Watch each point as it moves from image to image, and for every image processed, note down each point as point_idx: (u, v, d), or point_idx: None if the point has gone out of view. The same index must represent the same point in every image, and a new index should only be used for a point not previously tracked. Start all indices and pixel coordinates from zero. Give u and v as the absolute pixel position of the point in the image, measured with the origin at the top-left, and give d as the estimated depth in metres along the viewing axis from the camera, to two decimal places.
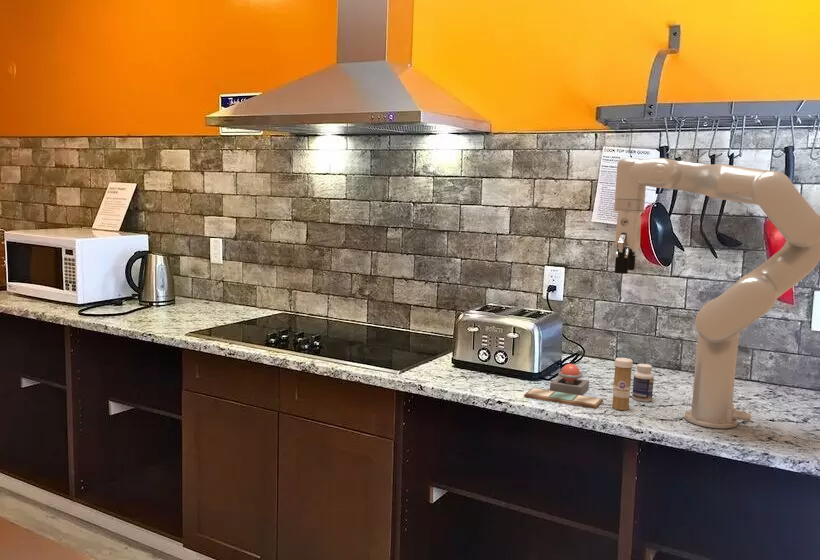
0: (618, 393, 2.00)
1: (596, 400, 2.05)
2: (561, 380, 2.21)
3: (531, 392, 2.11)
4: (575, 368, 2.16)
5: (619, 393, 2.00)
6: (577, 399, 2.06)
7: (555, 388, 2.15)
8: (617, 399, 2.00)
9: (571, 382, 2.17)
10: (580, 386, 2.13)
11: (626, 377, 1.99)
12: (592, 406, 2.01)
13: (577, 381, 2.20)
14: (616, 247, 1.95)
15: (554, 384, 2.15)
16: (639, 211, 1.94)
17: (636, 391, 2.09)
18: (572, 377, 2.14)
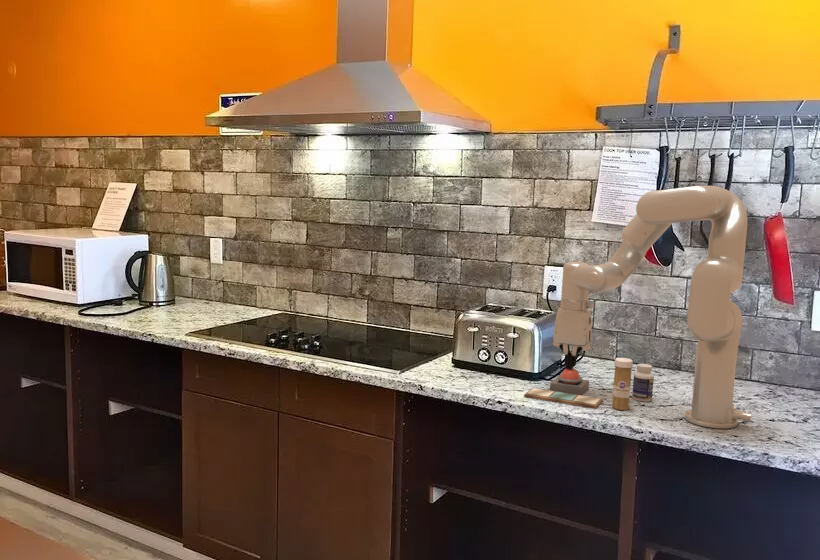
0: (618, 393, 2.00)
1: (596, 400, 2.05)
2: None
3: (531, 392, 2.11)
4: (575, 372, 2.16)
5: (619, 393, 2.00)
6: (577, 399, 2.06)
7: (555, 388, 2.15)
8: (617, 399, 2.00)
9: None
10: (580, 386, 2.13)
11: (626, 377, 1.99)
12: (592, 406, 2.01)
13: None
14: (586, 344, 2.13)
15: (554, 384, 2.15)
16: None
17: (636, 391, 2.09)
18: (572, 381, 2.14)
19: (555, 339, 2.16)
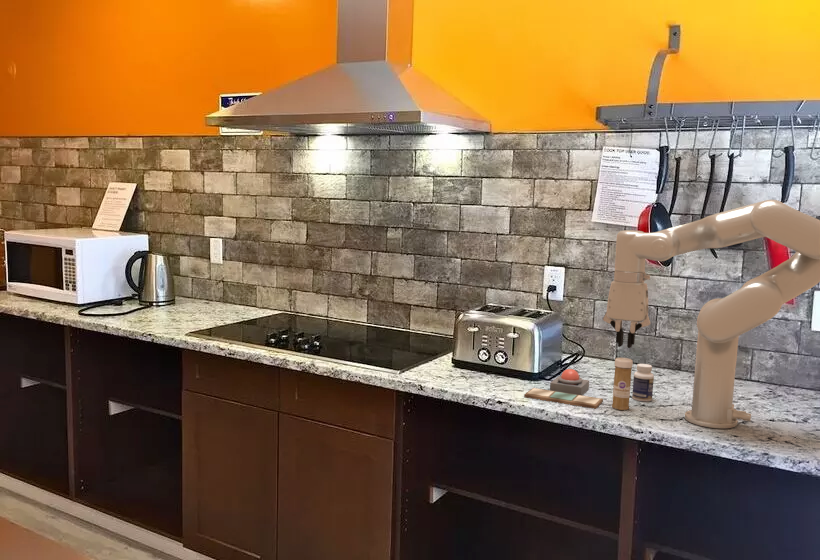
0: (618, 393, 2.00)
1: (596, 400, 2.05)
2: None
3: (531, 392, 2.11)
4: (575, 373, 2.16)
5: (619, 393, 2.00)
6: (577, 399, 2.06)
7: (555, 388, 2.15)
8: (617, 399, 2.00)
9: None
10: (580, 386, 2.13)
11: (626, 377, 1.99)
12: (592, 406, 2.01)
13: None
14: (643, 320, 1.96)
15: (554, 384, 2.15)
16: None
17: (636, 391, 2.09)
18: (572, 382, 2.14)
19: (609, 315, 1.99)
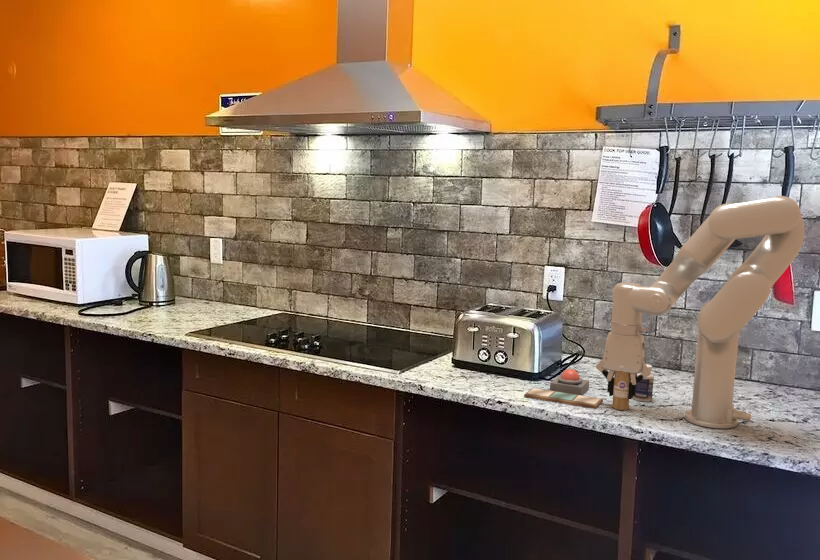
0: (618, 393, 2.00)
1: (596, 400, 2.05)
2: None
3: (531, 392, 2.11)
4: (575, 373, 2.16)
5: (619, 393, 2.00)
6: (577, 399, 2.06)
7: (555, 388, 2.15)
8: (617, 399, 2.00)
9: None
10: (580, 386, 2.13)
11: (626, 377, 1.99)
12: (592, 406, 2.01)
13: None
14: (639, 372, 1.97)
15: (554, 384, 2.15)
16: None
17: (636, 391, 2.09)
18: (572, 382, 2.14)
19: (605, 366, 2.01)
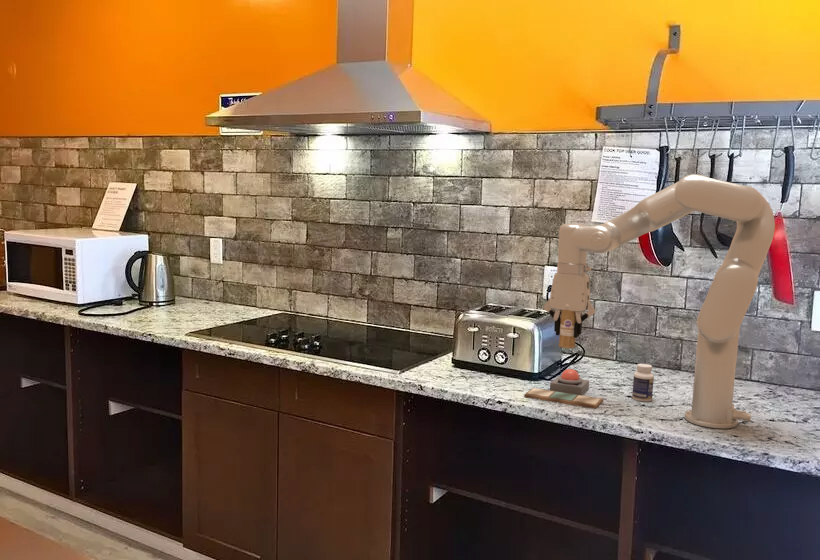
0: (564, 332, 2.04)
1: (596, 400, 2.05)
2: None
3: (531, 392, 2.11)
4: (575, 373, 2.16)
5: (565, 331, 2.04)
6: (577, 399, 2.06)
7: (555, 388, 2.15)
8: (563, 338, 2.05)
9: None
10: (580, 386, 2.13)
11: (571, 316, 2.04)
12: (592, 406, 2.01)
13: None
14: (584, 310, 2.02)
15: (554, 384, 2.15)
16: None
17: (636, 391, 2.09)
18: (572, 382, 2.14)
19: (552, 305, 2.05)
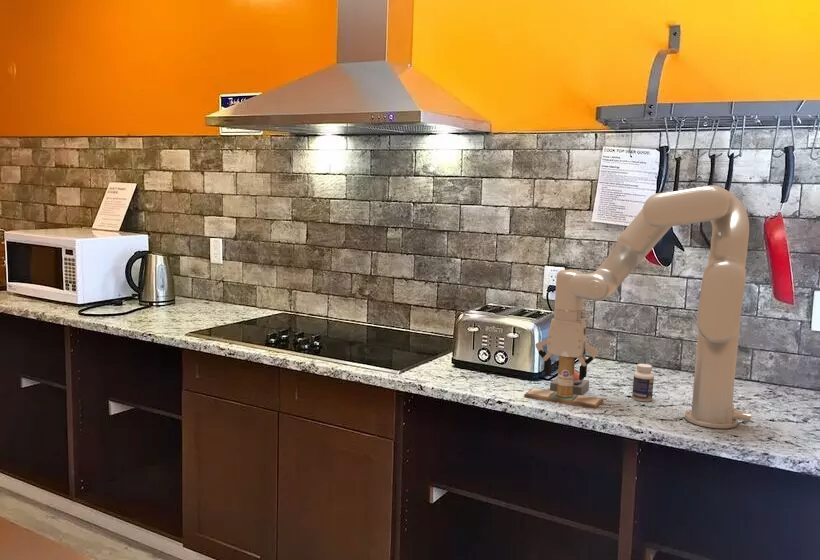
0: (562, 381, 2.06)
1: (596, 400, 2.05)
2: None
3: (531, 392, 2.11)
4: (575, 373, 2.16)
5: (562, 381, 2.06)
6: (577, 399, 2.06)
7: (555, 388, 2.15)
8: (561, 387, 2.07)
9: None
10: (580, 386, 2.13)
11: (569, 366, 2.05)
12: (592, 406, 2.01)
13: None
14: (581, 356, 2.04)
15: (554, 384, 2.15)
16: None
17: (636, 391, 2.09)
18: None
19: (549, 351, 2.07)
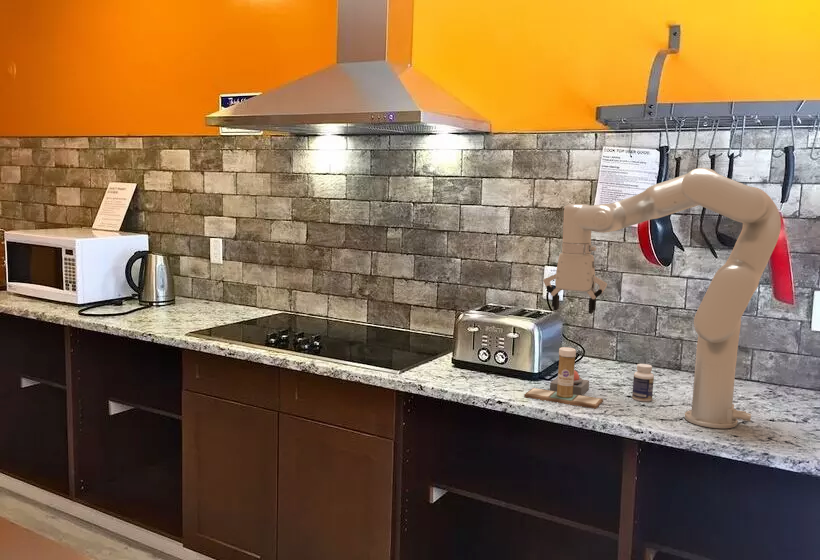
0: (562, 381, 2.06)
1: (596, 400, 2.05)
2: None
3: (531, 392, 2.11)
4: (575, 373, 2.16)
5: (562, 381, 2.06)
6: (577, 399, 2.06)
7: (555, 388, 2.15)
8: (561, 387, 2.07)
9: None
10: (580, 386, 2.13)
11: (569, 366, 2.05)
12: (592, 406, 2.01)
13: None
14: (590, 289, 2.04)
15: (554, 384, 2.15)
16: None
17: (636, 391, 2.09)
18: None
19: (557, 286, 2.07)
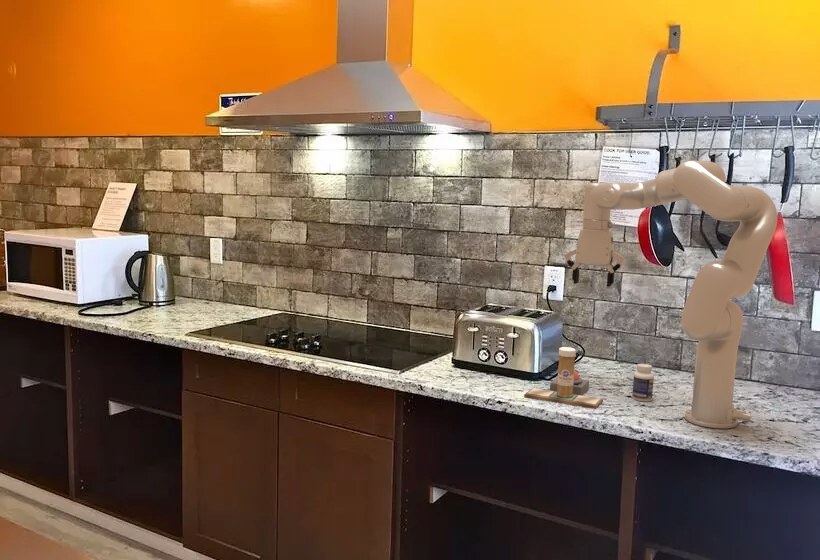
0: (562, 381, 2.06)
1: (596, 400, 2.05)
2: None
3: (531, 392, 2.11)
4: (575, 373, 2.16)
5: (562, 381, 2.06)
6: (577, 399, 2.06)
7: (555, 388, 2.15)
8: (561, 387, 2.07)
9: None
10: (580, 386, 2.13)
11: (569, 366, 2.05)
12: (592, 406, 2.01)
13: None
14: (608, 264, 2.15)
15: (554, 384, 2.15)
16: None
17: (636, 391, 2.09)
18: None
19: (577, 260, 2.19)
